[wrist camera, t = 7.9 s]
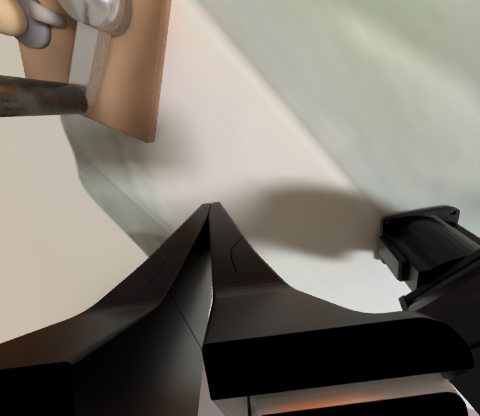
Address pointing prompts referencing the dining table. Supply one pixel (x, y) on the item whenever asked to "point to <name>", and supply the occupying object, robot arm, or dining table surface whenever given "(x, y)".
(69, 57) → the base
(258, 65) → the dining table surface
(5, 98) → the lever
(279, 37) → the dining table surface
